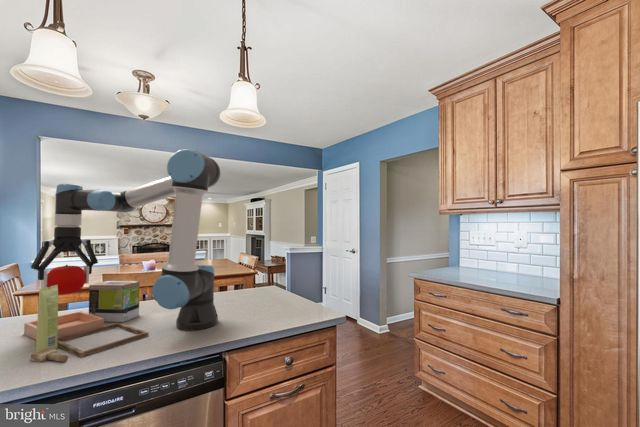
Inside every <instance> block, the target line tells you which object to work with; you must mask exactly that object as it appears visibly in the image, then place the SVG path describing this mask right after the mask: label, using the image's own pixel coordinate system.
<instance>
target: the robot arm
mask: <svg viewBox="0 0 640 427" xmlns="http://www.w3.org/2000/svg"><path fill="white" fill-rule="evenodd" d="M166 172H167V175H169V176H168V177H165V178H164V177H163V178H162V179H158V180H154V181H151V182H149V183H146V184H142V185H140V186H136V187H134V188H131V189H128V190H124V191H120V192H115V191H110V190H107V189H100V188H98V189H83V186H82V185H81V184H76V183H59V184H57V185H56V188H55V189H56V190H55V204H54V205H55V208H54V209H55V211H54V234H53V235H54V236H53V237H54V239H52V240H51V241H49V240H42V242H41V248H40V249H39V251H38V253H37V255H36V257H35V258H34V261H33V262H32V264H31V265H30V269H31V270H36V271H37V280H38V281H40V289H42V288H47V274H48V273H49V271H48V269H47V268H48V267H49V265H50V264H51V263H52V262H53V261H54V260H55V258H56V257H58V255H59V254H60V253H68V252H69V253H73V252H74V254H76V255H77V256H78V257H79V258H80V259H81V260H82V262H83V264H85V265H83V268H82V269H83V270H84V272H85V276H86V279H85V284H86V285H88V284H89V283H90V275H92V271H93V268H92V267H93V266H94V265H95V264H96V265H97V264H98V263H99V261H98V258H97V257H96V254H95V252H94V249H93V247H92V244H91V243H92V242H91V239H88V238H87V239H82V227H80V226H82V216H83V215H82V213H83V211H94V212H95V211H97V212H118V213H130V212H134V211H135V210H136V208H138V207H142V206H145V205H149V204H153V203H154V202H158V201H161V200H165V199H168V198H170V197H173V196H175V198H174V208H173V213H172V214H173V216H172V223H171V224H172V225H171V232H170V234H171V235H170V242H169V248H168V249H169V250H168V251H169V252H168V258H167V259H168V260H167V263H165V264H164V265H162V267H161V275H160V277H158V278H157V280H155V281H154V284H153V285H152V296H153V298H154V301H155V302H156V303H157V304H158V305H159V306H160V307H161V308H163V309H167V310H176V309H179V308H180V310H179V312H178V315H177V318H176V321H175V322H176V323H175V328H177V329H179V330H183V331H199V330H200V331H201V330H205V329H208V328H212V327H213V326H216V325H217V324H218V322H219V316H218V313H217V309H216V306H215V303H214V299H215V298H214V295H215V268H214V266H213V265H211V264H196V253H197V248H198V247H197V245H198V237H199V230H200V229H199V228H200V227H199V226H200V220H201V212H202V211H201V210H202V203H203V202H202V201H203V197H204V195H205V194H207V193H208V190H209V188H211V187H213V186H215V185H216V184H217V183H218V182H219V180H220V178H221V169H220V166H219V164H218V162H217V161H216V160H215V159H213V158H211V157H209V156H206V155H204V154H202V153H201V152H199V151H198V150H192V149H190V148H189V149H187V148H184V149H179V150H177V151H176V152H174V153H173V154H172V155H171V156H170V157H169V159H168V161H167V165H166ZM52 245H53V247H54V249H53V250H52V251H51V252H50V254H49V255H48V256H47V257H46V258H45V256H46V255H47V253H48V251H49V248H50V247H52ZM81 245H82V246H84V249H85V252H86V254H87V256H86V254H85V253H84V252H83V251H82V249H81V247H80V246H81ZM44 258H45V259H44ZM43 260H44V261H43ZM85 284H84V285H85Z"/></svg>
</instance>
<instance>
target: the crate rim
mask: <svg viewBox="0 0 640 427" xmlns="http://www.w3.org/2000/svg"><path fill="white" fill-rule="evenodd" d="M114 328H115V329H116V328H118V329H122V330H125V331H127V332H131V333H134V334H135V335H132V336H129V337H128V336H127V337H125V338H123V339H120V340H116V341H113V342H109V343H105V344H102V345H99V346H97V347H93V348H90V349H87V350H84V351H83V350H81V349H79V348H78V347H75V346H73V345H70V344H68V343H66V341H70V340H74V339H76V338H81V337H84V336H90V335H91V334H96V333H99V332H103V331H107V330H111V329H114ZM145 337H149V331H145V330H143V329H139V328H136V327H133V326H130V325H127V324H124V323H122V322H114V323H111V324H108V325H104V326H103V327H99V328H96V329H92V330H88V331H84V332H80V333H76V334H72V335H69V336H65V337H61V338H58V347H59V348H61V349H63V350H65V351H66V352H69V353H70V354H73V355H75V356H77V357H78V358H79V357H80V358H84V357H86V356H91V355H92V354H96V353H99V352H103V351H105V350H108V349H111V348H114V347H117V346H121V345H124V344H127V343H131V342H135V341H137V340H140V339H143V338H145ZM58 347H57V348H58Z"/></svg>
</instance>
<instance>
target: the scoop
mask: <svg viewBox="0 0 640 427" xmlns="http://www.w3.org/2000/svg"><path fill="white" fill-rule="evenodd" d="M29 359H30V361H31V362H32V361H33V362H38V363H43V362H46V361H48V360H49V361H50V360H51V361H54V362H55V361H56V362H62V363H65V362H67V360H68V359H69V355H67V354H62V353H58V350H57V349H56V350H54V349H48V348H46V349H43V350H40V351H37V352H36V351H35V352H32V353H30V357H29Z"/></svg>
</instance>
